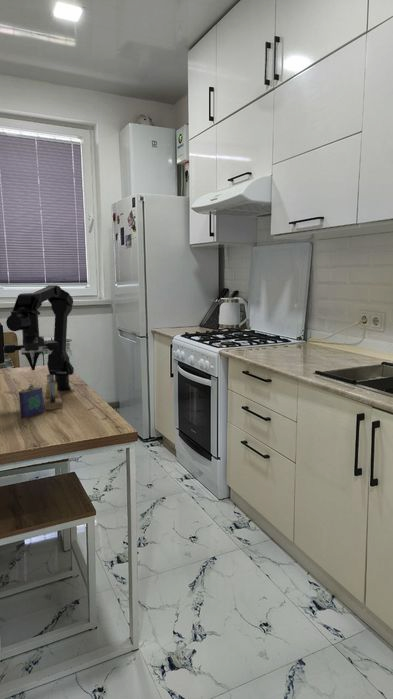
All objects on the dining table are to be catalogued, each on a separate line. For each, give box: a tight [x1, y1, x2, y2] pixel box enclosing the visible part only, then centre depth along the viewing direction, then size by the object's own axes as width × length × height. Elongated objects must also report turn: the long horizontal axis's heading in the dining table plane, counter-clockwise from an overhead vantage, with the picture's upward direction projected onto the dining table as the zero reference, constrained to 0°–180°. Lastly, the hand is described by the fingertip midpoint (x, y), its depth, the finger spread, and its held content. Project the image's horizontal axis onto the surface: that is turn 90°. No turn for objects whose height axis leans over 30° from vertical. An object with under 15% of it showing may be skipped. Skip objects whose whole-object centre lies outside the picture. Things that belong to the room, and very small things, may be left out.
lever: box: [46, 374, 56, 402], centre depth 168 cm, size 15×2×7 cm, turn 20°
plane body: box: [42, 390, 63, 411], centre depth 169 cm, size 19×6×5 cm, turn 20°
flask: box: [18, 384, 45, 420], centre depth 153 cm, size 9×3×11 cm, turn 152°
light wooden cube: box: [44, 379, 58, 398], centre depth 171 cm, size 6×4×5 cm, turn 20°
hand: (33, 370), depth 168 cm, fingers closed
